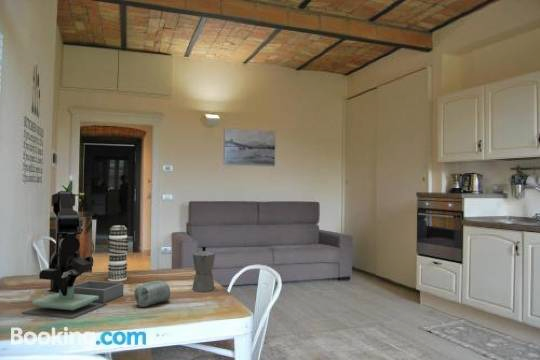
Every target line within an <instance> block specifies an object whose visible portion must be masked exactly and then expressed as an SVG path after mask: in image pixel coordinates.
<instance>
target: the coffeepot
mask: <svg viewBox="0 0 540 360" xmlns="http://www.w3.org/2000/svg"><path fill="white" fill-rule="evenodd" d="M206 248H207V247H206V246H201V249H202V250H200V251H198V252H195V253H193V254H192V260H193V267H194V270H195V274H194V277H193V283H192V288H191V289H192V291H193V292H197V293H208V292H212V291H214V290H215V282H214V276H213V272H212V271H213V269H214V264H215V258H216V257H215V256H216V253H214V252H212V251H206Z"/></svg>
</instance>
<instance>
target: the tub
mask: <svg viewBox="0 0 540 360" xmlns="http://www.w3.org/2000/svg"><path fill="white" fill-rule="evenodd" d="M124 286H125V285H124V283H123V282H116V281H103V280H102V281H101V280H99V281H98V280H86V281H83V282H79V283H76V284H73V287H74V294H83V295H95V296H99V299H97V300H94V301H92V303H102V304H107V303H109V302H112V301H115V300H117V299H120V298H122V297H124Z"/></svg>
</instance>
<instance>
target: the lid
mask: <svg viewBox="0 0 540 360" xmlns="http://www.w3.org/2000/svg"><path fill="white" fill-rule="evenodd" d="M97 299H99V296H95V295H83V294H74V287H68V286H67V294H66V296H63V295H62V293H61V291H60V289H59V292H56V293H54V294H51V295H47V296H44V297H41V298H38V299H34V300H32V301H31V304H32V305H36V306H37V305H38V307H45V308H55V309H65V310H75V309H78V308H80V307H83V306H85V305H88V304H91V303H92V301H94V300H97Z"/></svg>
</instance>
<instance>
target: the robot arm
mask: <svg viewBox="0 0 540 360" xmlns="http://www.w3.org/2000/svg"><path fill="white" fill-rule="evenodd" d="M75 206H76V195H75V194H74V193H73V191H70V190H59V191H57V193H54V194H52V195H51V199H50V207H52V211H53V213H54V215H55V216H56V217H55V250H54V252H53V253H52V255H51V257H50V261H48V268H46V269H42V270H40V272H39V280H48V281H49V280H50V289H47V292H50V293H59V289H60V291H61V293H62V295H63V296H66V294H67V286H68V287H73V285H75V284H74V283H75V282H76V279H77V278H78V277H79V276H81V275H82V274H84V273H88V272H90V271H92V267H93V266H94V257H92V256H86V257H80V256H81V254H80V252H78V250H79V249H80V246H81V242H80V240H79V239H78V236H77V235H82V232H83V229H84V226H83V220H82V218H81V217H80V216H79V213H78V211H76V210H74V207H75Z"/></svg>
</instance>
